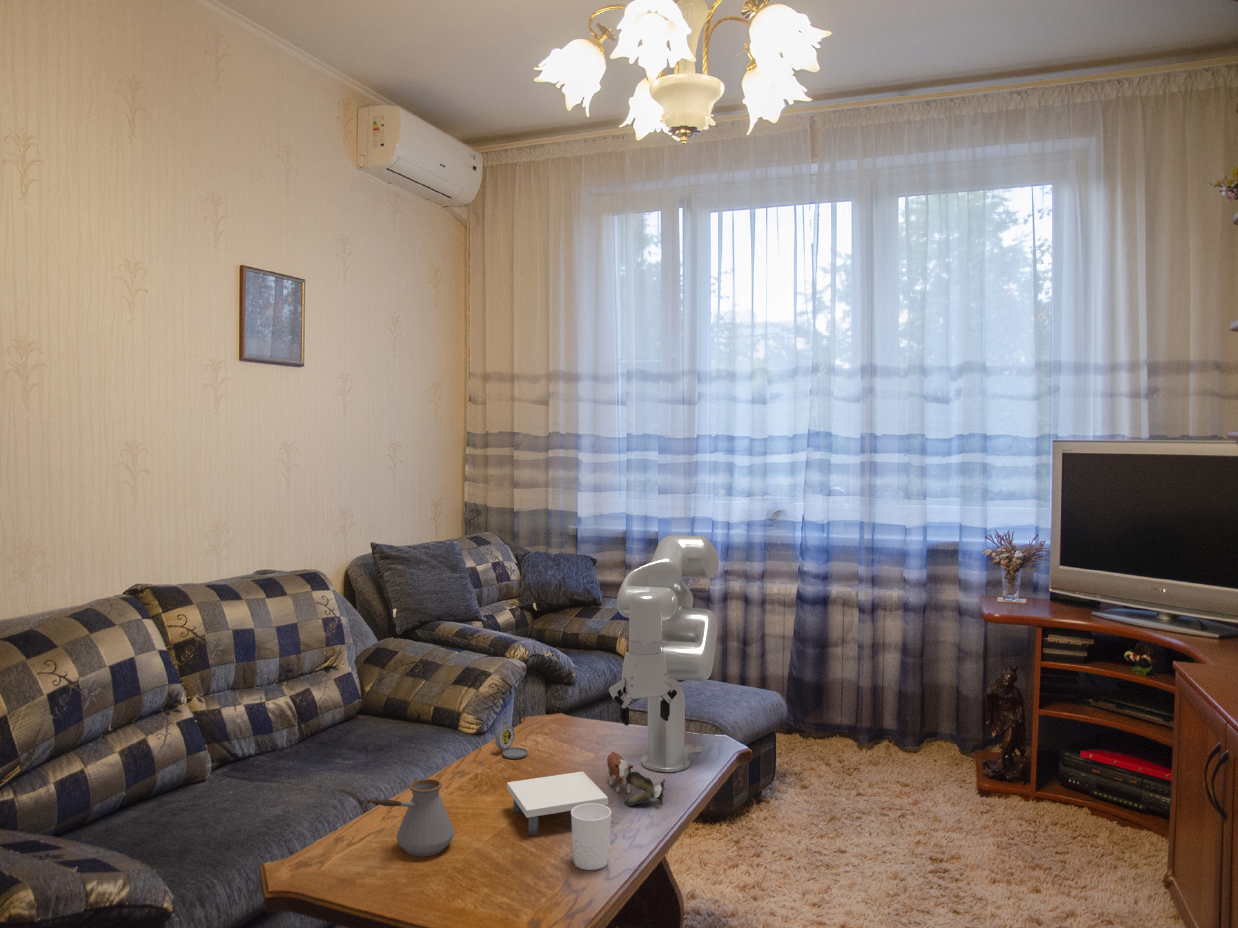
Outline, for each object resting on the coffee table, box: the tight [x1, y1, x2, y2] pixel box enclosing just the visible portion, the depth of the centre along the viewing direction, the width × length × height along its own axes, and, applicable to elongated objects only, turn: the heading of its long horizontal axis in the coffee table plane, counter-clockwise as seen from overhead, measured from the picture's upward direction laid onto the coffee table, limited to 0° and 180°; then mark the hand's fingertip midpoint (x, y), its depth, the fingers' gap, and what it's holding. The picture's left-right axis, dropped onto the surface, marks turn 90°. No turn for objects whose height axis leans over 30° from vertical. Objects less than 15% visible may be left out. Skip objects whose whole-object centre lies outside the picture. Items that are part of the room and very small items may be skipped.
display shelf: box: [506, 771, 609, 837], centre depth 188 cm, size 18×16×6 cm
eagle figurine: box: [623, 771, 666, 807], centre depth 196 cm, size 8×7×9 cm
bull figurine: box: [606, 751, 634, 795], centre depth 203 cm, size 4×13×8 cm, turn 13°
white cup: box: [570, 803, 612, 871], centre depth 167 cm, size 8×8×10 cm
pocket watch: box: [495, 714, 529, 760], centre depth 226 cm, size 8×8×10 cm
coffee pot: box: [362, 778, 455, 857], centre depth 169 cm, size 21×12×15 cm, turn 148°
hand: (644, 721), depth 196 cm, fingers open, 9 cm apart
